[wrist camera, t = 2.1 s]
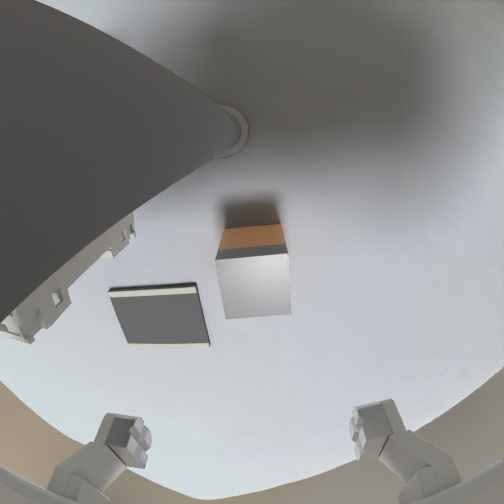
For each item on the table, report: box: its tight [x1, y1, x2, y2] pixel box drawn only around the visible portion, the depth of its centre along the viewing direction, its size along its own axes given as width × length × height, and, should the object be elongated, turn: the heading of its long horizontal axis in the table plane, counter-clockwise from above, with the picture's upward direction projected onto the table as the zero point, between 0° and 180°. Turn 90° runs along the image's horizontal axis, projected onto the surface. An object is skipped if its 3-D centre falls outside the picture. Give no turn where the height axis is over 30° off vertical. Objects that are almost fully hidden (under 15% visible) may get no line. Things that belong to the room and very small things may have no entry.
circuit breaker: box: [0, 212, 136, 344], centre depth 14 cm, size 8×14×15 cm, turn 179°
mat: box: [108, 284, 210, 348], centre depth 27 cm, size 9×7×1 cm
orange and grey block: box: [215, 224, 291, 319], centre depth 22 cm, size 4×4×6 cm
